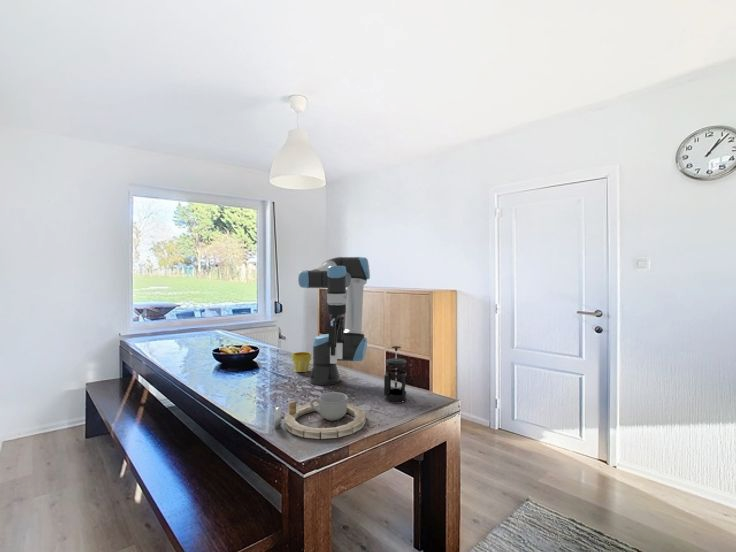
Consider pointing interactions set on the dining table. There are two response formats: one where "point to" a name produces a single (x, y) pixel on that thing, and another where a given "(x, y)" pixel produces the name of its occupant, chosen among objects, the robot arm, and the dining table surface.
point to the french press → (395, 389)
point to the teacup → (331, 405)
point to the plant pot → (301, 361)
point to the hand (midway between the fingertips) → (336, 360)
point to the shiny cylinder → (277, 417)
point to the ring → (322, 432)
